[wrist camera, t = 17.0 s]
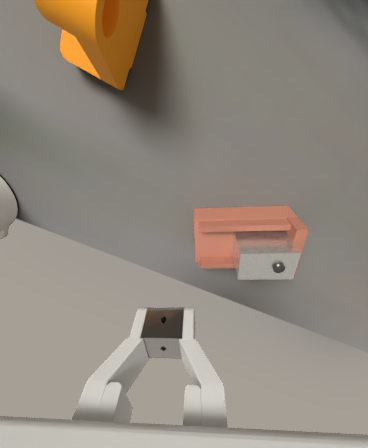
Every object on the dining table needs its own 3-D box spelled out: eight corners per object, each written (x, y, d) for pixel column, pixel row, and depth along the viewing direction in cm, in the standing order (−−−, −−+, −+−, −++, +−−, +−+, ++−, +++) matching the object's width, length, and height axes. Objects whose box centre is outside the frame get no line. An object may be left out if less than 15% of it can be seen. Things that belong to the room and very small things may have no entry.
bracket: (89, -63, 20) (-19, -229, 10) (155, -17, 22) (119, -122, 11) (71, 59, 25) (-13, 32, 15) (125, 90, 27) (81, 83, 17)
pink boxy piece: (195, 248, 40) (195, 276, 34) (194, 208, 35) (193, 232, 29) (278, 247, 39) (294, 276, 32) (287, 205, 34) (308, 229, 28)
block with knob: (231, 253, 35) (238, 281, 30) (233, 229, 33) (241, 255, 27) (278, 253, 35) (293, 281, 29) (284, 228, 32) (302, 254, 27)
